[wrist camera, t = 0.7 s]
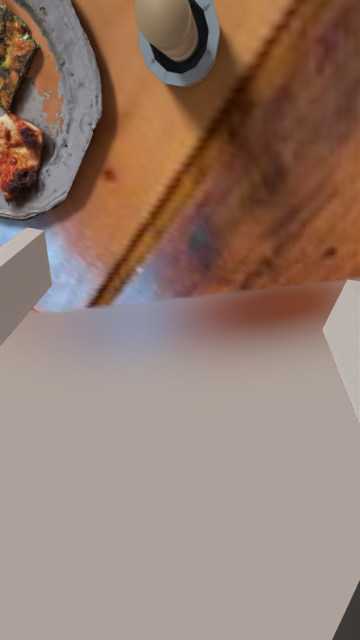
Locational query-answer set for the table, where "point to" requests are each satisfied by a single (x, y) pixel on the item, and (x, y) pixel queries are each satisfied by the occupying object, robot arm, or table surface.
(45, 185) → the food plate
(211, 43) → the cup
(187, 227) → the table surface
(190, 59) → the pestle
